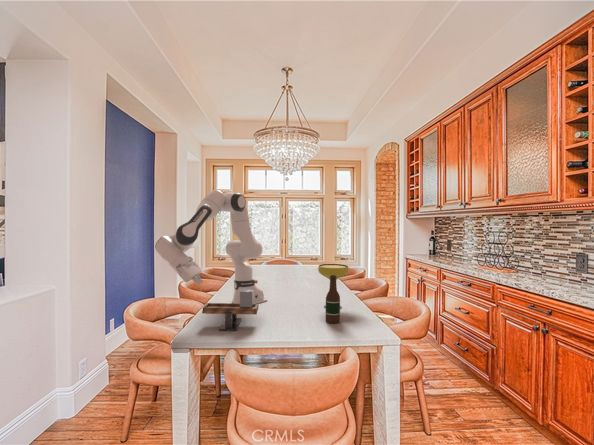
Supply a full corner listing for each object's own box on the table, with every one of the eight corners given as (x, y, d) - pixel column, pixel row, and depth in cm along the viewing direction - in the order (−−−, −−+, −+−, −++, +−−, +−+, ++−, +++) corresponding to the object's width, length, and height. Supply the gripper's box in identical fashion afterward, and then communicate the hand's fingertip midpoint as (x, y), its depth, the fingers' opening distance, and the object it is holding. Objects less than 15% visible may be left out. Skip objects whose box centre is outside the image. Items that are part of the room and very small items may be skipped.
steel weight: (239, 310, 163) (240, 291, 163) (241, 307, 168) (241, 289, 168) (251, 310, 163) (252, 291, 163) (253, 307, 168) (253, 289, 168)
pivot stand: (219, 330, 157) (219, 314, 157) (226, 319, 174) (226, 304, 174) (236, 330, 158) (236, 314, 157) (241, 320, 174) (241, 304, 174)
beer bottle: (327, 324, 169) (328, 277, 169) (323, 319, 176) (323, 274, 176) (342, 323, 170) (342, 276, 170) (337, 318, 178) (338, 274, 178)
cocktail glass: (349, 311, 192) (350, 268, 192) (318, 311, 193) (318, 267, 192) (345, 303, 210) (346, 264, 210) (317, 303, 211) (317, 263, 211)
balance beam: (202, 314, 160) (202, 308, 160) (207, 309, 171) (207, 302, 171) (256, 315, 161) (256, 309, 161) (258, 309, 171) (258, 303, 171)
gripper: (179, 261, 155) (200, 283, 155) (192, 256, 175) (210, 275, 175) (169, 271, 155) (190, 292, 155) (183, 265, 175) (202, 283, 175)
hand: (201, 283), depth 165 cm, fingers closed
